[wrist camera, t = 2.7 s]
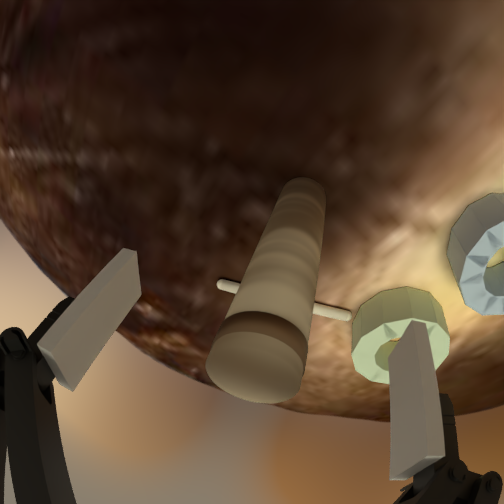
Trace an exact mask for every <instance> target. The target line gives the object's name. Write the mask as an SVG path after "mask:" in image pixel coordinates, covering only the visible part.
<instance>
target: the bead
mask: <svg viewBox="0 0 504 504" xmlns="http://www.w3.org/2000/svg"><path fill="white" fill-rule="evenodd" d="M412 320H414V321H419V322H423V323H426V327H427V332H428V336H429V341H430V346H431V351H432V356H433V361H434V367H435V370H436V369H437V368H438V367H439V365H440V364H441V363H442V362H443V361H444V359H445V358H446V357H447V356H448V354H449V342H450V335H449V331H448V328H447V324H446V320H445V317H444V313H443V309H442V306H441V305H440V304H439V303H438V302H437V301H436V299H435V298H434V297H433V296H432V295H431V294H430V292H426V291H422V290H418V289H414V288H410V287H402V288H397V289H392V290H387V291H382V292H380V293H378V294H377V295H376V296H374V297H373V298H371V299H370V300H368V301H367V302H365V303H364V304H362V305H361V307H360V309H359V311H358V313H357V315H356V317H355V319H354V321H353V323H352V352H351V355H352V358H353V362H354V366H355V370H356V371H357V372H359V373H360V374H362V375H363V376H364V377H366V378H367V379H369V380H370V381H374V382H380V383H386V384H389V366H388V357H389V355H390V354H391V352H392V351H393V349H394V348H395V346H396V344H397V343H398V341H395V342H393V341H390V340H391V339H394V338H399V337H402V335H403V334H404V332H405V330H406V329H407V327H408V325H409V324H410V322H411V321H412Z"/></svg>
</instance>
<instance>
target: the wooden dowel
mask: <svg viewBox="0 0 504 504" xmlns="http://www.w3.org/2000/svg"><path fill="white" fill-rule="evenodd" d="M325 209H326V194H325V191H324V189H323V188H322V186H321V185H320V184H319V183H318V182H316V181H315V180H313V179H311V178H307V177H298V178H294V179H292V180H290V181H289V182H287V183H286V184H285V186H284V187H283V189H282V191H281V193H280V196H279V198H278V200H277V202H276V205H275V207H274V209H273V212H272V214H271V216H270V218H269V221H268V223H267V225H266V227H265V230H264V232H263V234H262V236H261V239H260V241H259V243H258V245H257V248H256V250H255V252H254V254H253V257H252V259H251V261H250V263H249V266H248V268H247V270H246V273H245V275H244V277H243V279H242V282H241V284H240V286H239V288H238V291H237V293H236V295H235V297H234V300H233V302H232V304H231V306H230V309H229V311H228V313H227V315H226V318H225V320H224V321H223V322H222V324H221V326H220V328H219V330H218V332H217V335H216V337H215V339H214V341H213V343H212V346H211V351H210V354H209V356H208V358H207V360H206V370H207V373H208V375H209V377H210V378H211V379H212V381H213V382H214V383H215V384H216V385H217V386H219V387H220V388H221V389H223V390H224V391H226V392H227V393H229V394H231V395H233V396H236V397H238V398H241V399H244V400H247V401H251V402H257V403H278V402H283V401H286V400H288V399H290V398H292V397H293V396H295V395H296V394H297V393H298V391H299V389H300V385H301V380H302V376H303V374H304V371H305V365H306V359H307V353H308V340H309V334H310V327H311V321H312V314H313V308H314V301H315V294H316V286H317V279H318V271H319V263H320V255H321V247H322V238H323V229H324V219H325Z"/></svg>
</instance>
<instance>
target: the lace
mask: <svg viewBox="0 0 504 504" xmlns="http://www.w3.org/2000/svg"><path fill="white" fill-rule="evenodd" d="M239 286H240V284H239V283H236V282H232V281H228V280H224V279H220V280H219V281H218V282H217V287H218V288H219V289H221V290H224V291H228V292H232V293H235V294H236V293H237V291H238V288H239ZM313 314H317V315H321V316H325V317H330V318H334V319H338V320H342V321H349V320H351V318H352V314H351V312H350V311H347V310H343V309H338V308H334V307H330V306H326V305H322V304H318V303H314V308H313Z"/></svg>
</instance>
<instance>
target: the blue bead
mask: <svg viewBox="0 0 504 504" xmlns="http://www.w3.org/2000/svg"><path fill="white" fill-rule="evenodd" d="M502 247H504V194H496V193H491V194H489V195H487V196H486V197H484V198H482V199H480V200H478V201H476V202H474V203H472V204H470V205H468V207H467V208H466V210H465V211H464V212H463V214H462V215H461V217H460V218H459V219H458V221H457V222H456V223H455V225H454V226H453V227H452V229H451V235H450V240H449V245H448V250H447V257H448V259H449V262H450V265H451V268H452V271H453V274H454V277H455V279H456V282H457V284H458V287H459V289H460V292H461V294H462V297H463V300H464V302H465V305H467V306H468V307H470V308H472V309H473V310H475V311H476V312H478V313H479V314H481V315H501V314H504V262H502V263H500V264H498V265H496V266H494V267H492V268H486V266H487V263H488V261H489V260H490V259H491V258H492V257H493V255H494V254H495V253H496V252H497V250H498V249H500V248H502Z"/></svg>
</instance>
